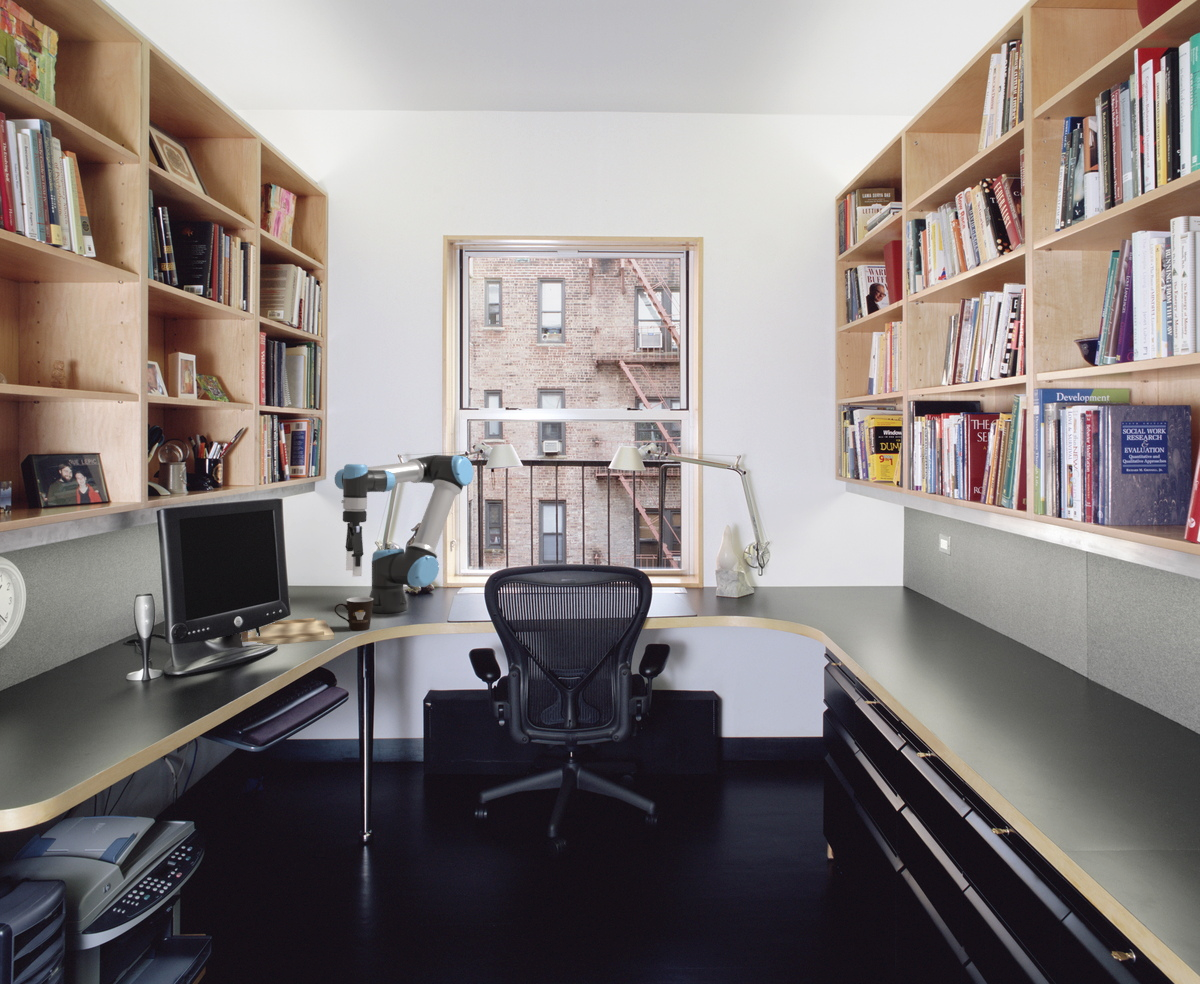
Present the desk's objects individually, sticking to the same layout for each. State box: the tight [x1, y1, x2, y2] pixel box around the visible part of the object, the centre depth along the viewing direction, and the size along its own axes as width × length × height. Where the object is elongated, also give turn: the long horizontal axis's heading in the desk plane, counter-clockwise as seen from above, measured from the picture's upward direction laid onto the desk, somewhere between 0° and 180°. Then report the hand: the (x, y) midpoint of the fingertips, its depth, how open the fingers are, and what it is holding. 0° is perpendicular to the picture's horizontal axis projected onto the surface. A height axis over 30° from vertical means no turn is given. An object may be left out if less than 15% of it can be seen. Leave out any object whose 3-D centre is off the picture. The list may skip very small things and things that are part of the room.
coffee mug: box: [334, 596, 374, 632], centre depth 236 cm, size 12×9×10 cm
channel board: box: [241, 617, 335, 645], centre depth 225 cm, size 26×22×6 cm
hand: (353, 573), depth 236 cm, fingers open, 13 cm apart
